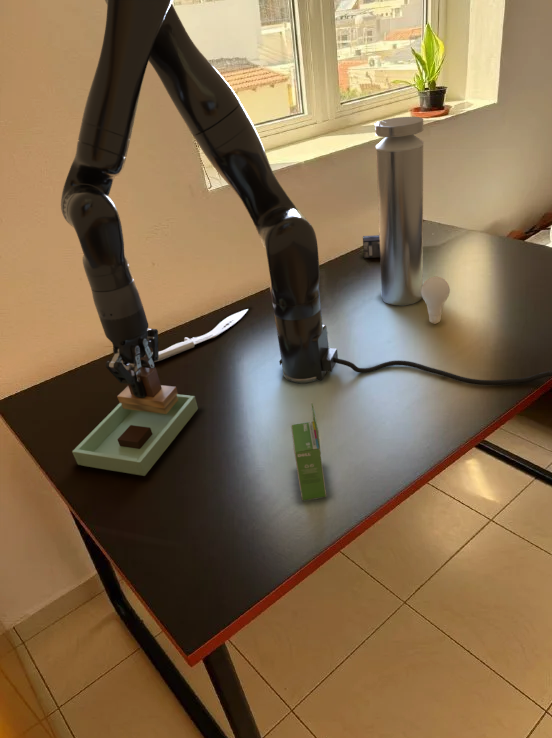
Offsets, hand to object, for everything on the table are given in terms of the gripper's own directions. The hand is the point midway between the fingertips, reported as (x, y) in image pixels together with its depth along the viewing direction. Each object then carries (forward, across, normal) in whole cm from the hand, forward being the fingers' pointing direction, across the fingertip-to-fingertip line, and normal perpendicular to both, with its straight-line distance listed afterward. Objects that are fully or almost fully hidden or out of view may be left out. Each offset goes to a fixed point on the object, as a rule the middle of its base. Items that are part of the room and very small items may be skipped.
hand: (146, 390), depth 107 cm
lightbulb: (+7, +45, -46) cm, 65 cm away
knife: (+7, +33, +6) cm, 35 cm away
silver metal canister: (+7, +58, -36) cm, 69 cm away
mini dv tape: (+7, +84, -24) cm, 88 cm away
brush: (+3, 0, 0) cm, 3 cm away
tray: (+7, -6, 0) cm, 9 cm away
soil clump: (+6, -7, 0) cm, 9 cm away
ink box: (+7, -11, -36) cm, 38 cm away
